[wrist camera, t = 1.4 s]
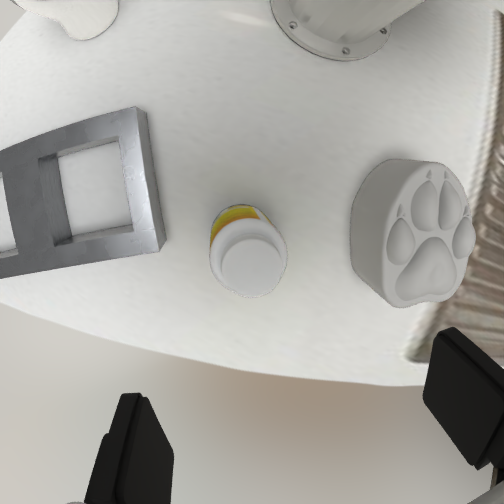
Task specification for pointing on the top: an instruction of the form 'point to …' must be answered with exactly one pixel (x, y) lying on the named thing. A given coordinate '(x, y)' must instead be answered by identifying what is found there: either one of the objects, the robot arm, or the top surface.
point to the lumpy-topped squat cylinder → (411, 232)
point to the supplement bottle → (246, 251)
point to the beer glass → (75, 14)
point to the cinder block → (52, 201)
